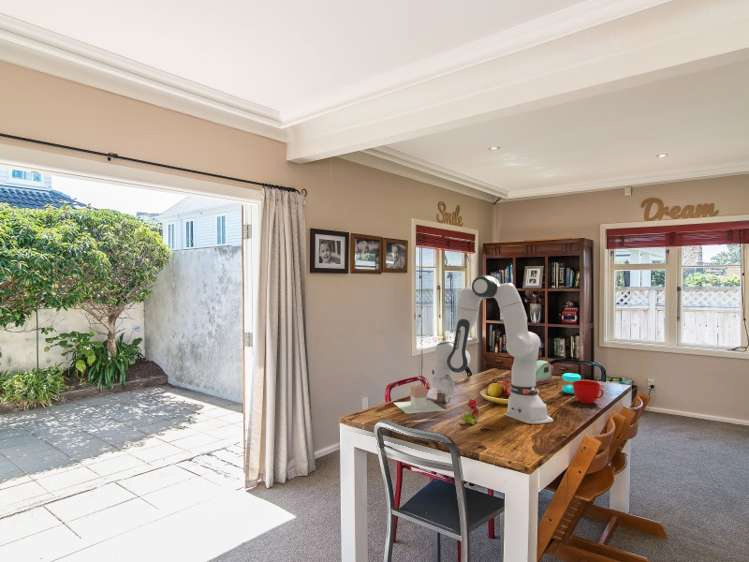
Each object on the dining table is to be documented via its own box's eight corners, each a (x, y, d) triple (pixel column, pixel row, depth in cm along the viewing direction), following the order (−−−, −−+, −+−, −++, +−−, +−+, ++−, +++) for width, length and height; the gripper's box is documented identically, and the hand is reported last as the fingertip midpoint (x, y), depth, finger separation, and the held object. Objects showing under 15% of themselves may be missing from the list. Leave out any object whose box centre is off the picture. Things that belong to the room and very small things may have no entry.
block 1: (426, 397, 236) (426, 387, 236) (415, 398, 235) (415, 388, 234) (422, 394, 242) (422, 384, 242) (410, 395, 240) (410, 385, 240)
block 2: (426, 407, 236) (426, 397, 236) (415, 408, 235) (415, 398, 235) (421, 404, 242) (422, 394, 242) (410, 405, 240) (410, 395, 240)
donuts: (558, 374, 275) (567, 372, 281) (558, 391, 275) (567, 389, 281) (575, 377, 267) (584, 374, 273) (575, 395, 267) (584, 392, 274)
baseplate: (445, 412, 231) (445, 410, 231) (406, 415, 226) (406, 413, 226) (429, 402, 251) (429, 400, 251) (393, 405, 245) (393, 402, 245)
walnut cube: (449, 404, 247) (449, 394, 247) (440, 405, 245) (440, 395, 245) (445, 402, 251) (445, 392, 251) (436, 402, 250) (436, 393, 250)
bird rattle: (469, 424, 219) (458, 420, 214) (475, 401, 222) (464, 396, 217) (480, 428, 215) (469, 424, 209) (487, 403, 217) (475, 399, 212)
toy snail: (533, 386, 288) (533, 363, 288) (523, 384, 294) (523, 361, 294) (557, 381, 303) (557, 359, 303) (546, 379, 309) (547, 357, 309)
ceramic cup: (593, 408, 240) (593, 388, 240) (567, 400, 255) (567, 381, 255) (612, 405, 245) (612, 386, 245) (585, 398, 260) (585, 379, 260)
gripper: (457, 376, 239) (457, 404, 239) (441, 369, 259) (441, 394, 259) (446, 377, 237) (445, 405, 238) (430, 369, 257) (430, 395, 257)
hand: (443, 399), depth 248 cm, fingers open, 7 cm apart
